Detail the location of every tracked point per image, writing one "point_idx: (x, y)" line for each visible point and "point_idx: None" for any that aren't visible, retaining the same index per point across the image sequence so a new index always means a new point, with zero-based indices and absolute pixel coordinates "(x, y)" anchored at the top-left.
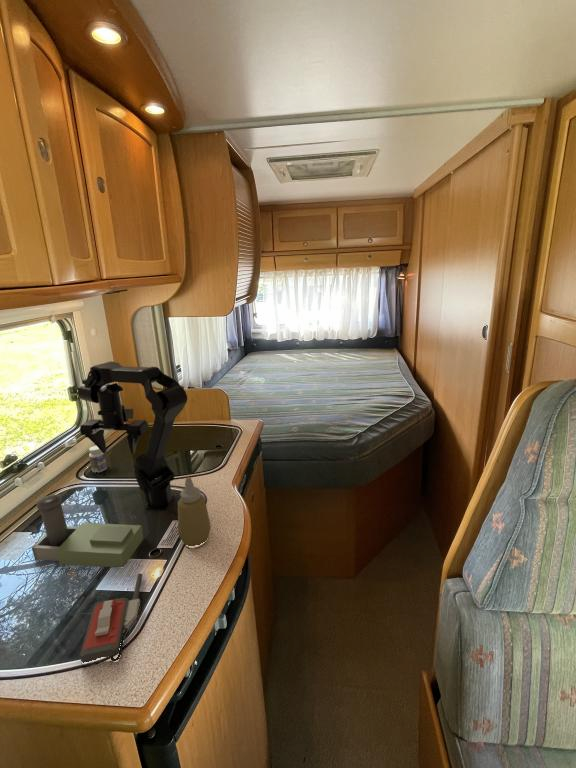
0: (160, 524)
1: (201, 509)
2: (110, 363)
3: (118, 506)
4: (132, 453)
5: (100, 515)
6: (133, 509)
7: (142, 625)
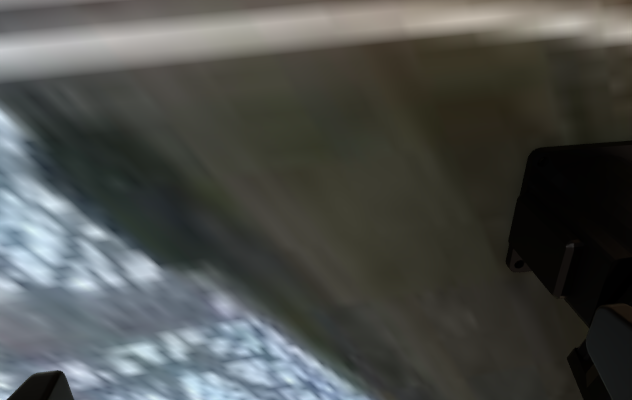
0: None
1: None
2: None
3: (331, 266)
4: (603, 360)
5: (273, 341)
6: (435, 273)
7: None
